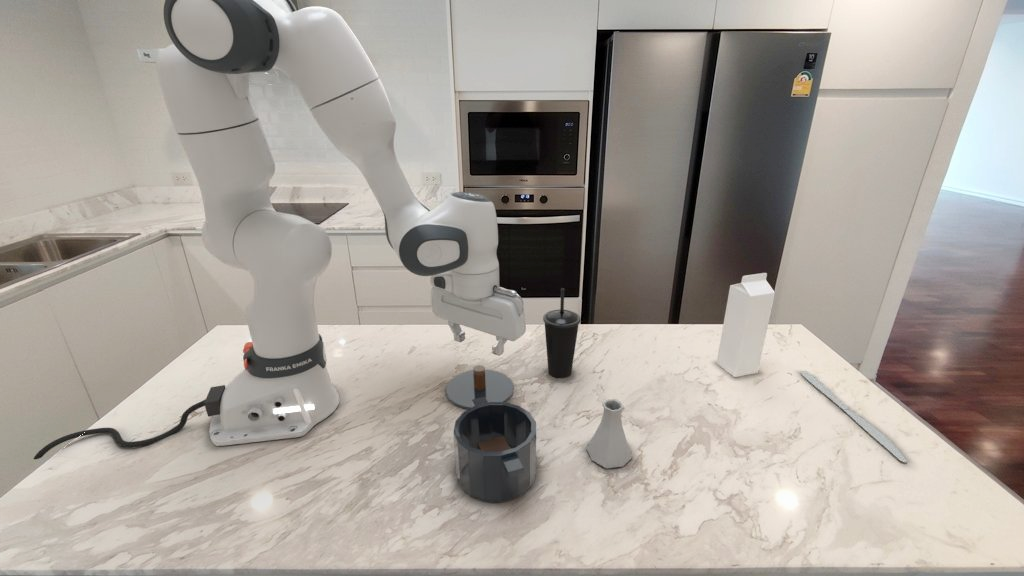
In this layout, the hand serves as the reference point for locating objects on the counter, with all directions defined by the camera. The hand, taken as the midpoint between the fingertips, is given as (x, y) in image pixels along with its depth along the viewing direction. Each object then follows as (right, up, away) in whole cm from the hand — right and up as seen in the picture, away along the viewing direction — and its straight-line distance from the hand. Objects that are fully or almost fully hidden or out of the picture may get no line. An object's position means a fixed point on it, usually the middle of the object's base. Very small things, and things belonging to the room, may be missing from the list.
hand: (478, 346), depth 93 cm
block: (+4, -18, -16) cm, 24 cm away
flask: (+23, -17, -12) cm, 31 cm away
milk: (+56, -6, +12) cm, 57 cm away
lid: (0, -9, +4) cm, 10 cm away
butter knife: (+70, -12, -3) cm, 71 cm away
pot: (+4, -18, -16) cm, 25 cm away
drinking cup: (+17, -7, +10) cm, 21 cm away
